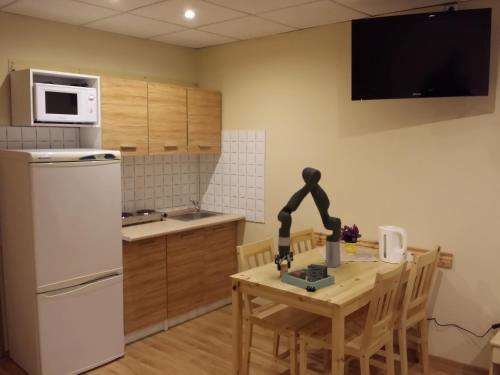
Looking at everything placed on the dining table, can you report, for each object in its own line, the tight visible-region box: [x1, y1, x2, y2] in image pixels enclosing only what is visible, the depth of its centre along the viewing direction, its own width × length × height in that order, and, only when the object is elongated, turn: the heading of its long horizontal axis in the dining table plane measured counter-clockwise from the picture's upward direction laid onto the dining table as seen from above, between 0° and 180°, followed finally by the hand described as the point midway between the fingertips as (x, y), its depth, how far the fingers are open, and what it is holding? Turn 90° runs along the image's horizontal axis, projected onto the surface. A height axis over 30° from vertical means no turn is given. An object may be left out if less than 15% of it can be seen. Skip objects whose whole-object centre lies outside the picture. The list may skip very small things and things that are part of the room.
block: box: [292, 269, 307, 281], centre depth 279 cm, size 6×6×6 cm
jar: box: [279, 263, 289, 278], centre depth 289 cm, size 5×5×8 cm
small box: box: [307, 263, 328, 281], centre depth 275 cm, size 11×6×10 cm, turn 59°
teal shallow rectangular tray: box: [281, 267, 336, 291], centre depth 277 cm, size 20×24×4 cm
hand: (283, 269), depth 288 cm, fingers open, 8 cm apart
